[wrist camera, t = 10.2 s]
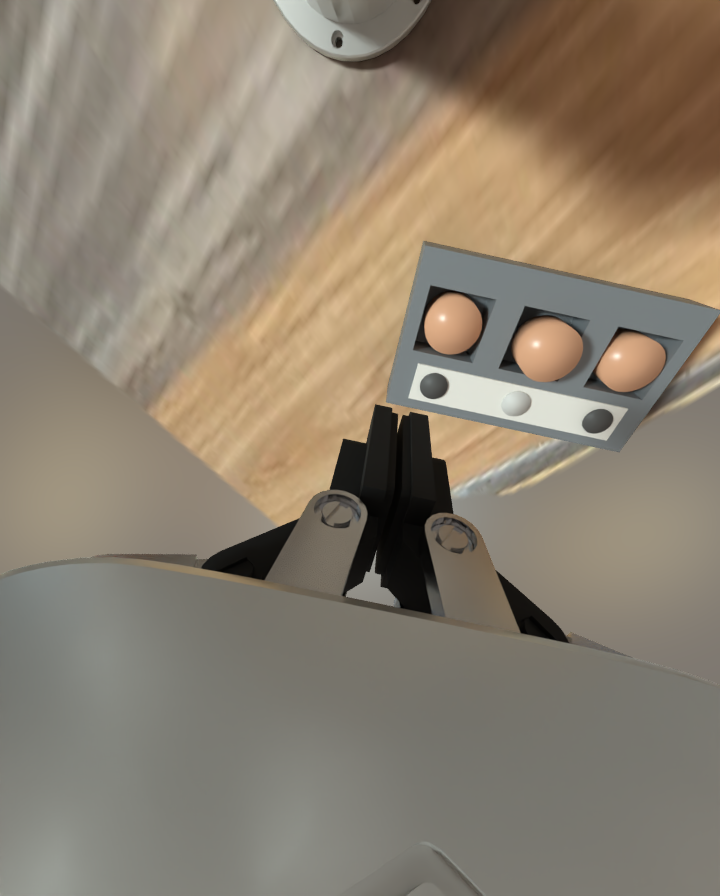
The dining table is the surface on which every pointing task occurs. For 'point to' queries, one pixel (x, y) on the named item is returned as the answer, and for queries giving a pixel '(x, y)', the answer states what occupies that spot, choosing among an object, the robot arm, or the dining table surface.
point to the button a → (452, 322)
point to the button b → (546, 348)
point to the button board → (497, 373)
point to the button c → (630, 361)
